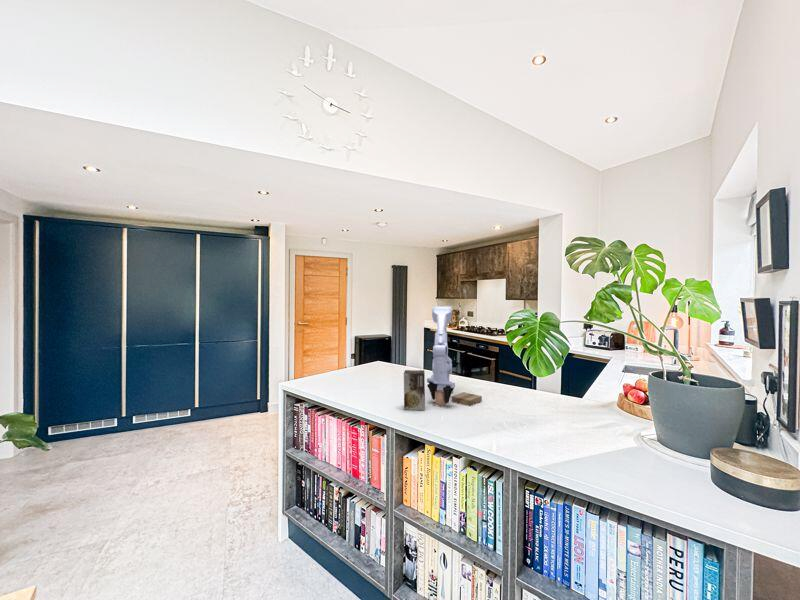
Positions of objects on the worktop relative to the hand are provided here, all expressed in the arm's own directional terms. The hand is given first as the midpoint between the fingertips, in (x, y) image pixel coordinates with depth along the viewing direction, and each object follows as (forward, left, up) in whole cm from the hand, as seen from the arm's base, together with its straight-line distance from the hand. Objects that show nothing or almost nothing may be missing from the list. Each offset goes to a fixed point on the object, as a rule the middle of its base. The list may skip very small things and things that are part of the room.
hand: (440, 400), depth 160 cm
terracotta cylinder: (0, 0, -2) cm, 2 cm away
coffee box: (-5, -12, -2) cm, 13 cm away
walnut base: (+6, +12, -2) cm, 14 cm away
